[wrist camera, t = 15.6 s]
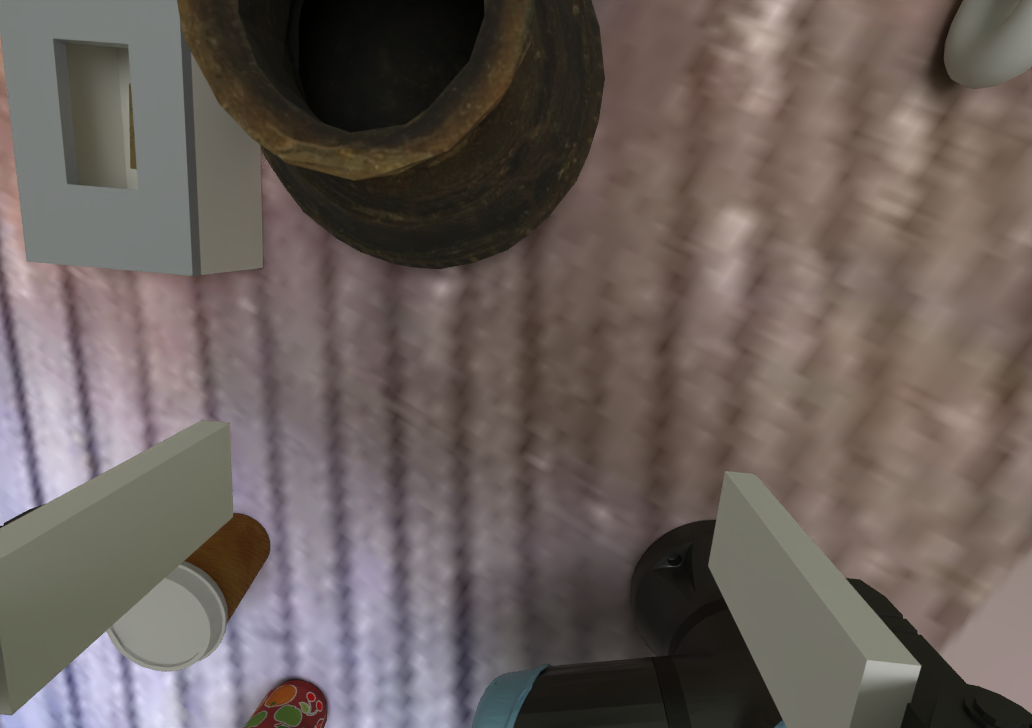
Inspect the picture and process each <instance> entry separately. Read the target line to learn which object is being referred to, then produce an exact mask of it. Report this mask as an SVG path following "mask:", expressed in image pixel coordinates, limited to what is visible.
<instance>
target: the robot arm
mask: <svg viewBox="0 0 1032 728" xmlns="http://www.w3.org/2000/svg"><path fill="white" fill-rule="evenodd" d="M232 517H233V496H232V469H231V442H230V423H225V422H214V421H204V420H201V421H200V422H198V423H196V424H194V425H192V426H190V427H188V428H187V429H185V430H183V431H181V432H179V433H177V434H175V435H173V436H172V437H170V438H168V439H166V440H164V441H162V442H160V443H159V444H157V445H155V446H153V447H151V448H149V449H147V450H145V451H144V452H142V453H140V454H138V455H136V456H134V457H132V458H131V459H129V460H127V461H125V462H123V463H121V464H119V465H118V466H116V467H114V468H112V469H110V470H108V471H106V472H104V473H103V474H101V475H99V476H97V477H95V478H93V479H91V480H90V481H88V482H86V483H84V484H82V485H80V486H78V487H77V488H75V489H73V490H71V491H69V492H67V493H65V494H63V495H62V496H60V497H58V498H56V499H54V500H52V501H50V502H49V503H47V504H44V505H41V506H38V507H35V508H32V509H30V510H28V511H26V512H24V513H22V514H20V515H18V516H16V517H14V518H13V519H11V520H9V521H7V522H5V523H4V525H3V526H0V714H4V715H13V714H14V713H15V712H16V711H17V710H18V709H20V708H21V707H22V706H23V705H24V704H25V703H26V702H27V701H28V700H30V699H31V698H32V697H33V696H34V695H35V694H36V693H37V692H39V691H40V690H41V689H42V688H43V687H44V686H45V685H46V684H47V683H49V682H50V681H51V680H52V679H53V678H54V677H55V676H56V675H57V674H59V673H60V672H61V671H62V670H63V669H64V668H65V667H66V666H67V665H69V664H70V663H71V662H72V661H73V660H74V659H75V658H76V657H78V656H79V655H80V654H81V653H82V652H83V651H84V650H85V649H86V648H88V647H89V646H90V645H91V644H92V643H93V642H94V641H95V640H96V639H98V638H99V637H100V636H101V635H102V634H103V633H104V632H105V631H106V630H108V629H109V628H110V627H111V626H112V625H113V624H114V623H115V622H117V621H118V620H119V619H120V618H121V617H122V616H123V615H124V614H125V613H127V612H128V611H129V610H130V609H131V608H132V607H133V606H134V605H135V604H137V603H138V602H139V601H140V600H141V599H142V598H143V597H144V596H145V595H147V594H148V593H149V592H150V591H151V590H152V589H153V588H154V587H156V586H157V585H158V584H159V583H160V582H161V581H162V580H163V579H164V578H166V577H167V576H168V575H169V574H170V573H171V572H172V571H173V570H174V569H176V568H177V567H178V566H179V565H180V564H181V563H182V562H183V561H184V560H186V559H187V558H188V557H189V556H190V555H191V554H192V553H193V552H195V551H196V550H197V549H198V548H199V547H200V546H201V545H202V544H203V543H205V542H206V541H207V540H208V539H209V538H210V537H211V536H212V535H213V534H215V533H216V532H217V531H218V530H219V529H220V528H221V527H222V526H223V525H225V524H226V523H227V522H228V521H229V520H230V519H231V518H232ZM631 603H632V608H633V612H634V616H635V621H636V624H637V627H638V630H639V632H640V634H641V636H642V638H643V640H644V641H645V643H646V645H647V646H648V647H649V648H650V650H651V651H652V652H653V653H654V654H655V655H656V657H646V658H636V659H626V660H616V661H604V662H593V663H581V664H570V665H558V666H552V665H550V664H544V665H541V666H539V667H538V668H537V669H531V670H525V671H518V672H512V673H506V674H503V675H500V676H499V677H497V678H496V679H494V680H493V681H492V682H491V684H490V685H489V686H488V687H487V689H486V690H485V693H484V694H483V696H482V697H481V699H480V702H479V704H478V707H477V710H476V713H475V716H474V720H473V724H472V728H1032V714H1031V713H1029V712H1028V711H1027V710H1025V709H1024V708H1023V707H1022V706H1020V705H1018V704H1016V703H1014V702H1013V701H1011V700H1009V699H1007V698H1005V697H1004V696H1002V695H1000V694H997V693H995V692H992V691H990V690H987V689H984V688H981V687H979V686H974V685H969V684H966V682H964V680H963V679H962V678H961V677H960V676H959V675H958V674H957V673H956V672H955V671H954V670H953V669H952V667H951V666H950V665H949V664H948V663H947V662H946V661H945V660H944V659H943V658H942V657H941V656H940V655H939V654H938V653H937V651H936V650H935V649H934V648H933V647H932V646H931V645H930V644H929V643H928V642H927V641H926V640H925V639H924V638H923V636H922V635H918V633H917V630H916V629H915V628H914V627H913V626H912V625H911V624H910V623H909V621H908V620H907V619H903V615H902V614H901V613H900V612H899V611H898V610H897V609H896V608H895V606H894V605H893V604H892V603H891V602H890V601H889V600H888V599H887V598H886V597H885V596H884V595H882V594H881V593H879V592H878V591H876V590H875V589H873V588H872V587H870V586H869V585H867V584H866V583H864V582H863V581H861V580H859V579H849V578H845V577H844V576H843V575H842V574H841V573H840V572H839V570H838V569H837V568H836V567H835V566H834V565H833V563H832V562H831V561H830V560H829V559H828V558H827V557H826V555H825V554H824V553H823V552H822V551H821V550H820V548H819V547H818V546H817V545H816V544H815V543H814V542H813V540H812V539H811V538H810V537H809V536H808V535H807V534H806V532H805V531H804V530H803V529H802V528H801V527H800V525H799V524H798V523H797V522H796V521H795V520H794V519H793V517H792V516H791V515H790V514H789V513H788V512H787V510H786V509H785V508H784V507H783V506H782V505H781V504H780V502H779V501H778V500H777V499H776V498H775V497H774V495H773V494H772V493H771V492H770V491H769V490H768V489H767V487H766V486H765V485H764V484H763V483H762V482H761V481H760V479H759V478H758V477H757V476H756V475H755V474H749V473H739V472H728V471H725V474H724V480H723V486H722V491H721V497H720V502H719V508H718V513H717V519H716V521H703V522H697V523H692V524H689V525H685V526H682V527H680V528H678V529H675V530H673V531H671V532H669V533H668V534H666V535H665V536H663V537H662V538H660V539H659V540H658V541H656V542H655V543H654V544H653V545H652V546H651V547H650V548H649V549H648V550H647V552H646V553H645V554H644V555H643V557H642V558H641V560H640V562H639V563H638V565H637V568H636V570H635V573H634V576H633V579H632V584H631Z"/></svg>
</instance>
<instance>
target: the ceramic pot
mask: <svg viewBox="0 0 1032 728" xmlns="http://www.w3.org/2000/svg"><path fill="white" fill-rule="evenodd" d="M177 4H178V10H179V15H180V21H181V26H182V32H183V38H184V39H185V41H186V43H187V45H188V47H189V49H190V51H191V52H192V54H193V56H194V58H195V60H196V62H197V64H198V66H199V67H200V69H201V71H202V73H203V75H204V77H205V79H206V80H207V82H208V84H209V86H210V88H211V90H212V92H213V94H214V95H215V97H216V99H217V101H218V103H219V104H220V106H221V107H222V108H223V109H224V110H225V111H226V112H227V113H228V114H229V115H230V116H231V117H232V118H233V119H234V120H235V121H236V122H237V124H238V125H239V126H240V127H241V128H242V129H243V130H244V131H245V132H246V133H247V134H248V135H249V136H250V137H251V138H252V139H253V140H255V141H256V142H258V143H259V144H260V147H261V149H262V151H263V154H264V156H265V158H266V160H267V161H268V163H269V164H270V166H271V167H272V169H273V170H274V172H275V173H276V175H277V176H278V177H279V179H280V180H281V182H282V183H283V185H284V186H285V188H286V189H287V191H288V192H289V193H290V195H291V196H292V197H293V199H294V200H295V201H296V202H297V204H298V205H299V206H300V208H301V209H302V210H303V212H304V213H305V214H307V215H308V216H309V217H311V218H312V219H313V220H314V221H316V222H317V223H318V224H319V225H321V226H322V227H323V228H324V229H326V230H327V231H328V232H329V233H331V234H332V235H333V236H334V237H336V238H337V239H339V240H340V241H342V242H344V243H346V244H348V245H349V246H351V247H353V248H355V249H356V250H358V251H360V252H362V253H365V254H368V255H371V256H374V257H376V258H379V259H382V260H385V261H388V262H390V263H394V264H399V265H404V266H409V267H417V268H432V269H442V268H447V267H453V266H458V265H464V264H469V263H474V262H476V261H479V260H482V259H484V258H487V257H490V256H493V255H495V254H498V253H501V252H504V251H506V250H508V249H509V248H511V247H512V246H513V245H515V244H516V243H518V242H519V241H520V240H522V239H523V238H525V237H526V236H527V235H529V234H530V233H531V232H532V231H533V230H534V229H535V228H537V227H538V226H539V225H540V224H541V223H542V222H543V221H544V220H546V219H547V218H548V216H549V215H550V214H551V213H552V211H553V210H554V209H555V208H556V206H557V205H558V204H559V202H560V201H561V200H562V199H563V197H564V196H565V195H566V194H567V192H568V191H569V190H570V189H571V187H572V186H573V185H574V184H575V182H576V181H577V178H578V176H579V174H580V172H581V169H582V167H583V165H584V163H585V160H586V158H587V156H588V153H589V150H590V147H591V144H592V141H593V137H594V134H595V131H596V128H597V124H598V121H599V114H600V108H601V101H602V94H603V87H604V81H605V76H604V66H603V56H602V47H601V37H600V27H599V24H598V21H597V17H596V14H595V11H594V7H593V4H592V1H591V0H177Z"/></svg>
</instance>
